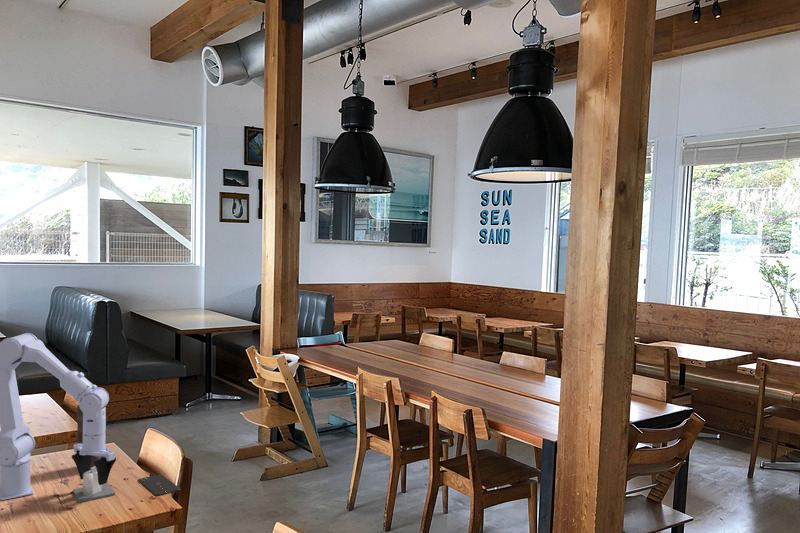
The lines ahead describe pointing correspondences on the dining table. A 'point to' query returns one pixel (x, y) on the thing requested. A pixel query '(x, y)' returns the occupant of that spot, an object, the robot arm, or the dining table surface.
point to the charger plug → (91, 482)
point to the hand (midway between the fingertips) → (93, 480)
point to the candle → (80, 434)
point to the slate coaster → (101, 494)
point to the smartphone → (158, 485)
